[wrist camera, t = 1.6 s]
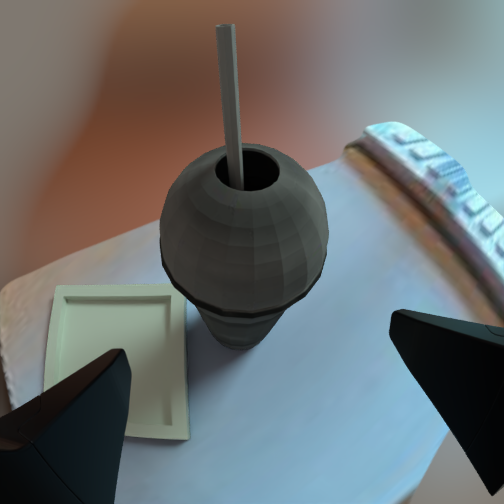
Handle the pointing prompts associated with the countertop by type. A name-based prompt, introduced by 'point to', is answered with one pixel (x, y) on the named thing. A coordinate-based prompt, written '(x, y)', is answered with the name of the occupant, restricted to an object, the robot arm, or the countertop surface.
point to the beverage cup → (242, 227)
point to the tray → (127, 348)
